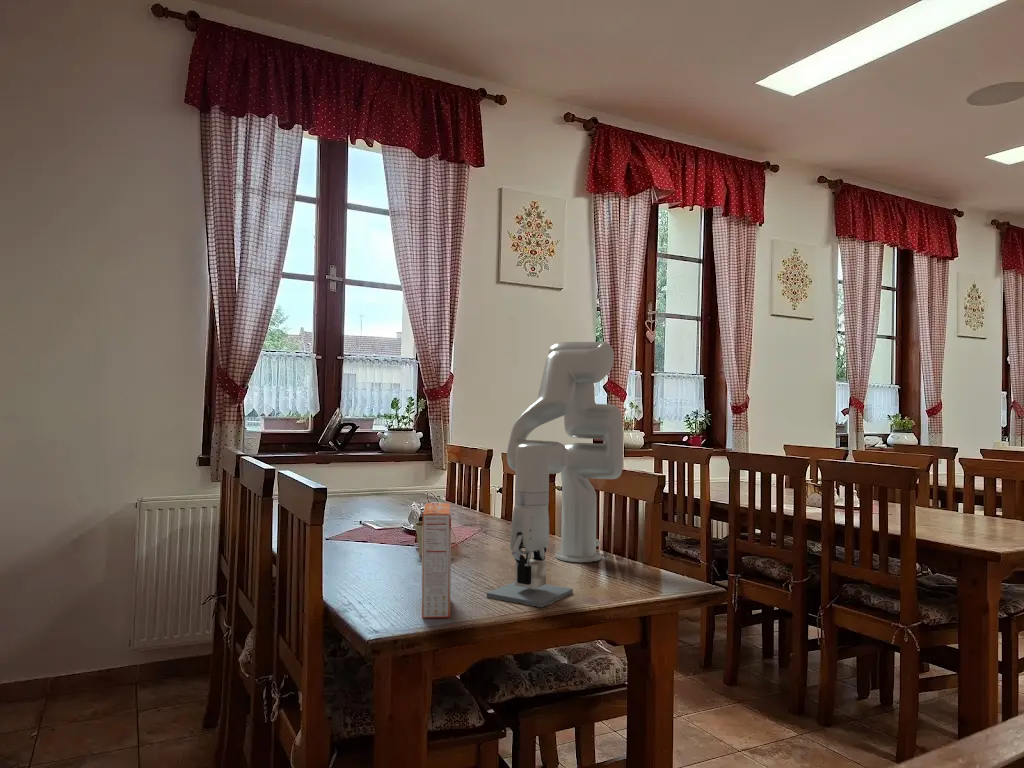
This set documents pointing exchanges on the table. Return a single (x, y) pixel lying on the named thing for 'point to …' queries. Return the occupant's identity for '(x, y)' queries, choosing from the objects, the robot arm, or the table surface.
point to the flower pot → (419, 535)
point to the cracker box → (436, 560)
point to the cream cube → (534, 574)
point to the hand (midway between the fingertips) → (530, 580)
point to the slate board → (530, 594)
